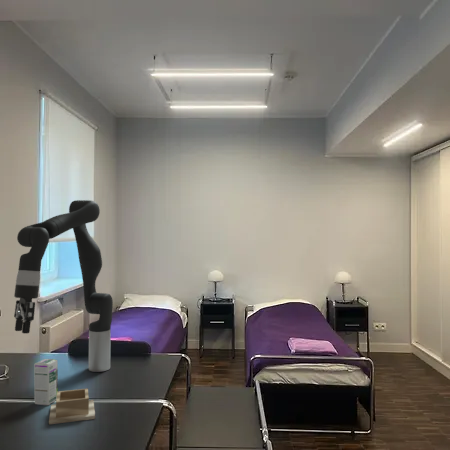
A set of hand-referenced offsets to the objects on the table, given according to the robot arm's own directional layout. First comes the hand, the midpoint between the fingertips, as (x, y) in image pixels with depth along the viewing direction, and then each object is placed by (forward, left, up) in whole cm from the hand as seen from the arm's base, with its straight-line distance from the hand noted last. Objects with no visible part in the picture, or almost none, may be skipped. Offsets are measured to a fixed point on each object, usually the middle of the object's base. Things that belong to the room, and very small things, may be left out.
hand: (21, 332), depth 152 cm
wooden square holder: (+8, +17, -26) cm, 32 cm away
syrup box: (-5, +8, -27) cm, 28 cm away
